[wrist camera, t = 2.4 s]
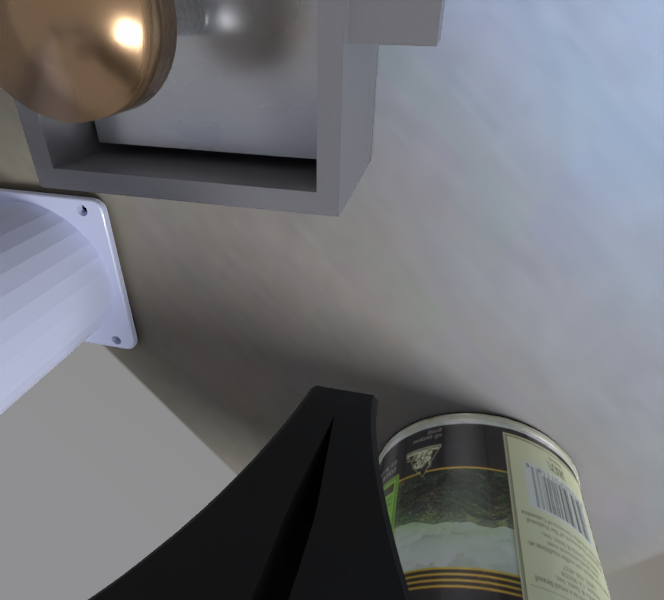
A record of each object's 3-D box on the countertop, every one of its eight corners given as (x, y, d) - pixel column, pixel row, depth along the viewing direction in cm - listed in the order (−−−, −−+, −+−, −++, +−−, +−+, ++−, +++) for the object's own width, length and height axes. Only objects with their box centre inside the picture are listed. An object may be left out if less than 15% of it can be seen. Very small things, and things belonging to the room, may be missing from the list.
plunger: (110, 137, 15) (-50, 194, 10) (48, -156, 12) (-244, -283, 7) (321, 154, 14) (253, 226, 9) (325, -169, 10) (214, -332, 6)
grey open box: (149, 142, 19) (41, 187, 14) (97, -162, 14) (-94, -259, 9) (425, 163, 17) (415, 224, 12) (467, -178, 12) (479, -312, 7)
